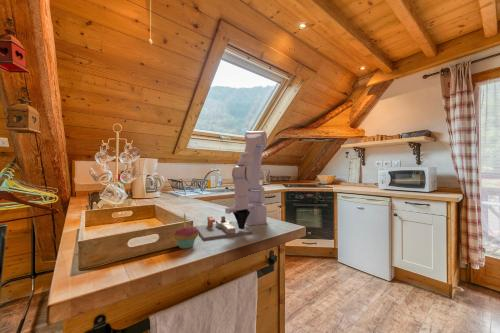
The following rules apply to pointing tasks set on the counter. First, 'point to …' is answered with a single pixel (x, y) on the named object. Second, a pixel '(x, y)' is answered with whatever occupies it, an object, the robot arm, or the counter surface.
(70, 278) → the counter surface
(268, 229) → the counter surface
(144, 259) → the counter surface
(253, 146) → the robot arm
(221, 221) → the pintle
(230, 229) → the link
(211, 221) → the keeper
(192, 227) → the cupcake
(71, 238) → the counter surface
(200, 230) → the board
